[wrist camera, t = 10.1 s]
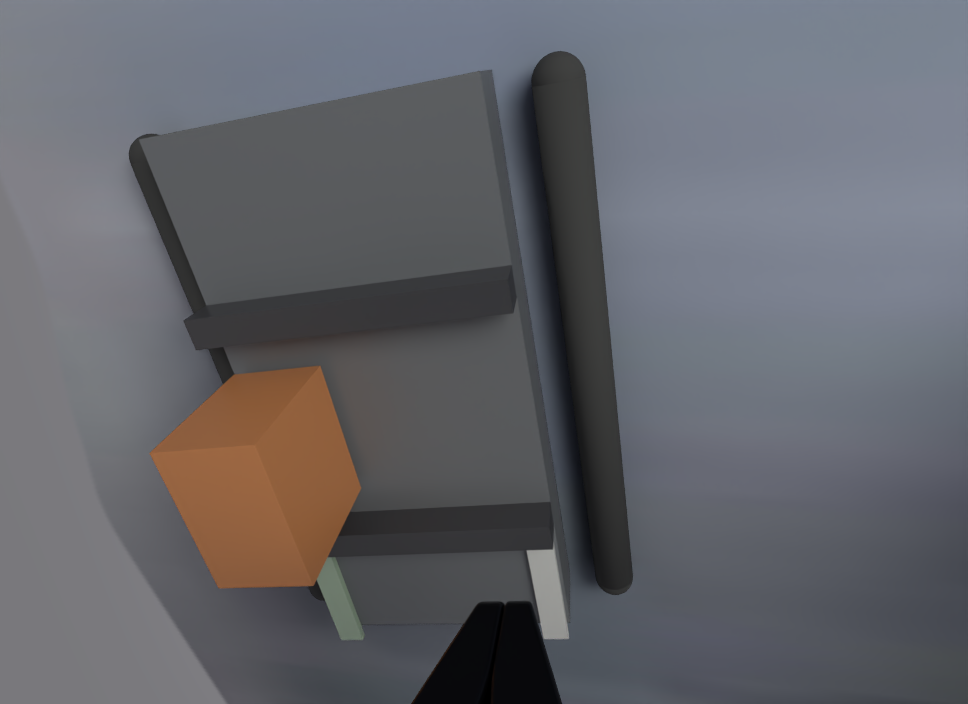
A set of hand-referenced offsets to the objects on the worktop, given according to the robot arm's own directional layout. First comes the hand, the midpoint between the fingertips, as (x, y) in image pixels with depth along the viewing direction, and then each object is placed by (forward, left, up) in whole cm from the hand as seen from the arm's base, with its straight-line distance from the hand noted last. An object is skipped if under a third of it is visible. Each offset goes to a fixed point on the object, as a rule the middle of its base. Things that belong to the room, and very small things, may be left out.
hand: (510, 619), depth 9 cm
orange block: (0, +7, -6) cm, 9 cm away
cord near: (0, -1, -9) cm, 9 cm away
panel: (0, +4, -9) cm, 10 cm away
